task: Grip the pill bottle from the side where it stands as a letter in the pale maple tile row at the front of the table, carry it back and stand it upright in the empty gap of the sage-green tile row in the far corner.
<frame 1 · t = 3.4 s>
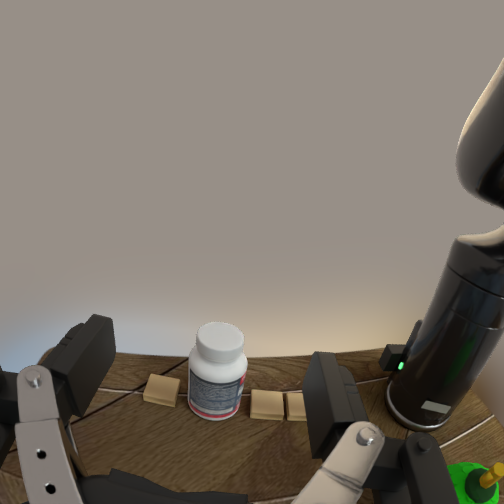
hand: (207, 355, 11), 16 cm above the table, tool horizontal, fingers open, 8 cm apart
pill bottle: (213, 403, 27), on the table
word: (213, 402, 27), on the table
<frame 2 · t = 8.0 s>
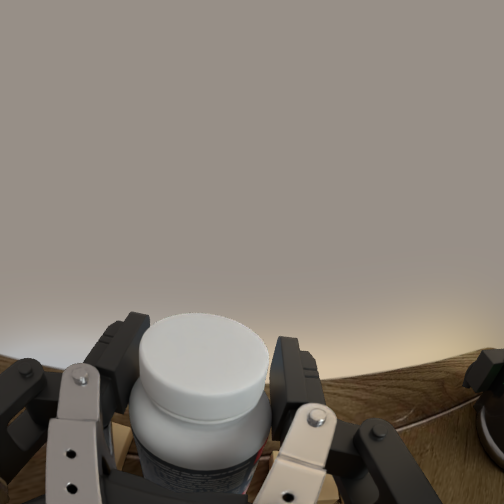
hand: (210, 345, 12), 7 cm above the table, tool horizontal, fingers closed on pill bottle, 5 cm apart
pill bottle: (196, 476, 12), on the table, touching gripper
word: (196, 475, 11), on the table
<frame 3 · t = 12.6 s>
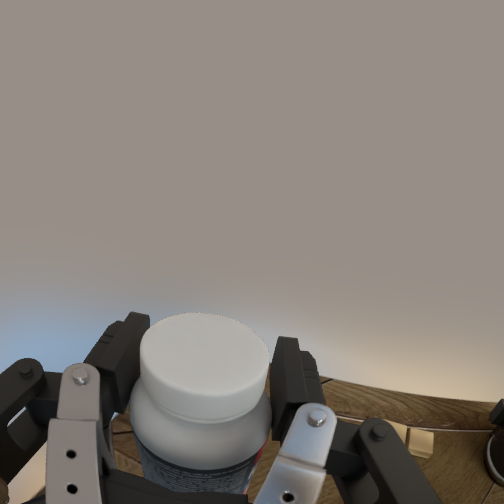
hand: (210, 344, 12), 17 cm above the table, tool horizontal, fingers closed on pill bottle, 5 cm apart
pill bottle: (196, 476, 12), point 9 cm above the table, touching gripper
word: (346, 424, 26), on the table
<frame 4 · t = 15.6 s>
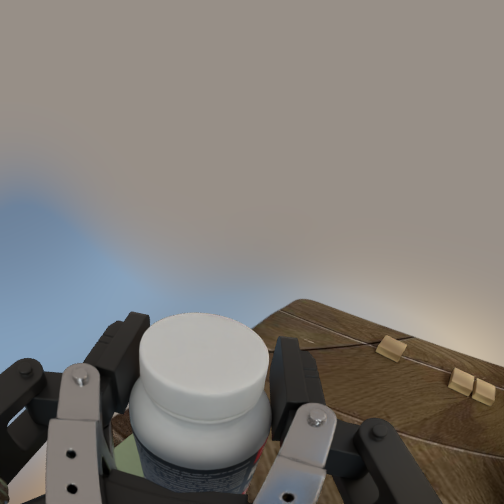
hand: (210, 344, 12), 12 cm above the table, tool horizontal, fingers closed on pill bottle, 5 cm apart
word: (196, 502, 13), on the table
pill bottle: (196, 476, 12), point 5 cm above the table, touching gripper
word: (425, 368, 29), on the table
when the fingers open (7 cm above the table, at t = 17.6 s): pill bottle stays where it is, on the table.
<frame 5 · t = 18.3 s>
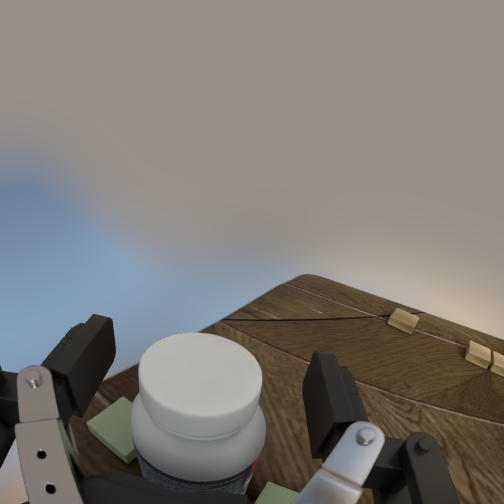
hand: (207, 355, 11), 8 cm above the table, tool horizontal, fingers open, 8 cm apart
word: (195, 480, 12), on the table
pill bottle: (194, 483, 12), on the table
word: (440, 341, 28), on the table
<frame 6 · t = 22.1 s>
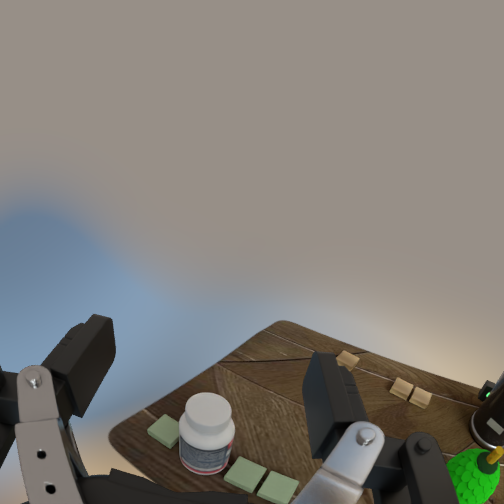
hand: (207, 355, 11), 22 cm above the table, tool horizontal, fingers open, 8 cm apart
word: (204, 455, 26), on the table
ornament: (445, 499, 19), on the table
pill bottle: (203, 457, 26), on the table
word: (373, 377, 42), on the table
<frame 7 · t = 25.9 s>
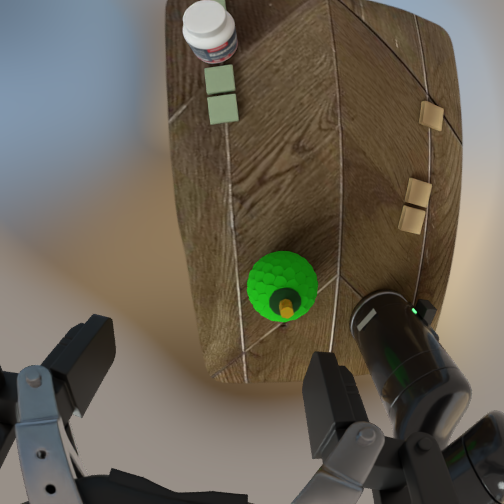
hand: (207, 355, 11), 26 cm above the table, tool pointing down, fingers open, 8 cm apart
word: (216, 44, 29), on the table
ornament: (279, 271, 38), on the table
pill bottle: (216, 45, 29), on the table
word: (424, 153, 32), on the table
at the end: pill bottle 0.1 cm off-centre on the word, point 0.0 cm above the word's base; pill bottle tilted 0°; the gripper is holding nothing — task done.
